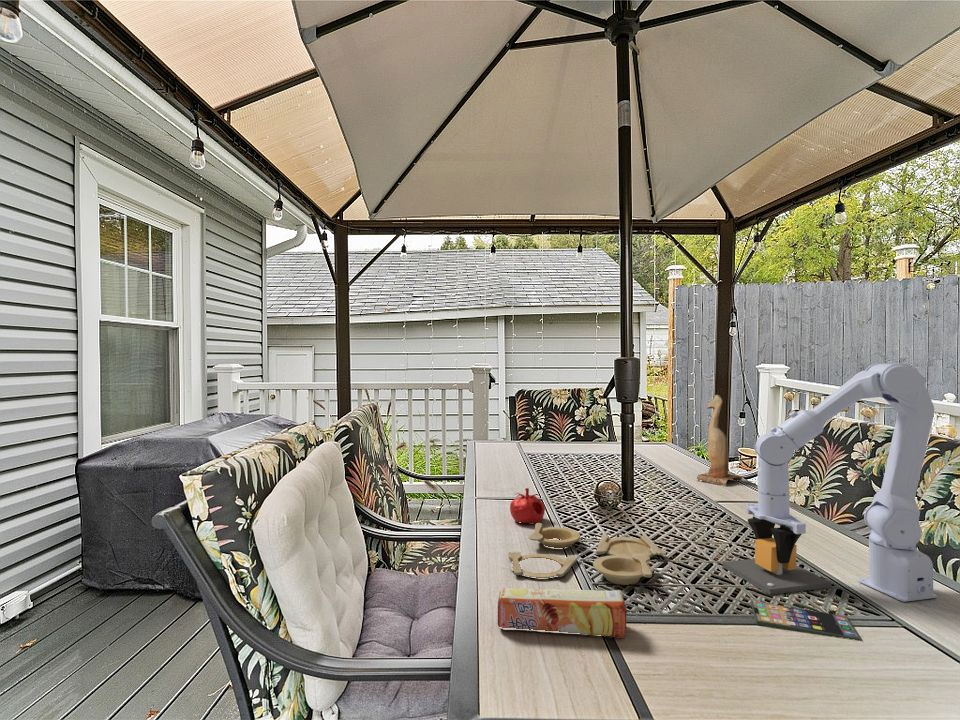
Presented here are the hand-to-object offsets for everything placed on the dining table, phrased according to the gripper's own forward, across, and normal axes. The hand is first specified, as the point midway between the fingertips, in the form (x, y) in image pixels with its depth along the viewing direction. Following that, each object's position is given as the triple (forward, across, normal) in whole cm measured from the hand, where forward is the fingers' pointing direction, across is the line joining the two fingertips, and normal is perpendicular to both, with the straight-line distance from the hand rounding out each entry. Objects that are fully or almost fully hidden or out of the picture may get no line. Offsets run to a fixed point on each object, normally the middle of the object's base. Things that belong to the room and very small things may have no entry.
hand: (774, 557), depth 109 cm
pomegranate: (+4, -48, -39) cm, 62 cm away
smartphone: (+5, +17, -9) cm, 20 cm away
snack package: (+4, +10, -50) cm, 52 cm away
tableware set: (+5, -18, -34) cm, 39 cm away
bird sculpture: (+4, -76, +42) cm, 87 cm away
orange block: (+2, 0, 0) cm, 2 cm away
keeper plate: (+4, 0, 0) cm, 4 cm away
